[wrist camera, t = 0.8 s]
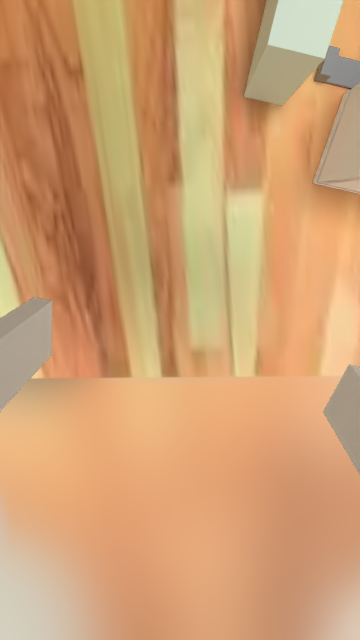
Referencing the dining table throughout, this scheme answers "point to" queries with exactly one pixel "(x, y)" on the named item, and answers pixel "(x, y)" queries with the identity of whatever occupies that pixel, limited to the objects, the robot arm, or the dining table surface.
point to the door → (290, 46)
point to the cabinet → (341, 125)
